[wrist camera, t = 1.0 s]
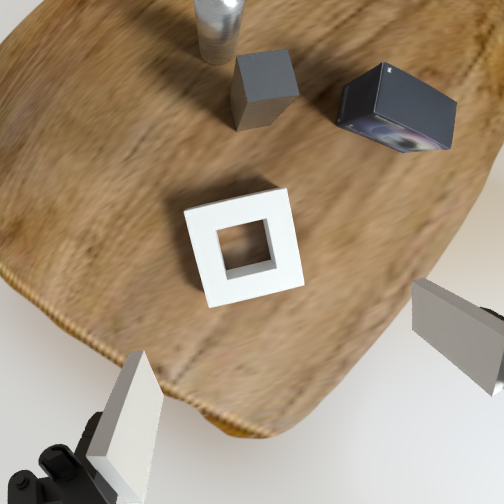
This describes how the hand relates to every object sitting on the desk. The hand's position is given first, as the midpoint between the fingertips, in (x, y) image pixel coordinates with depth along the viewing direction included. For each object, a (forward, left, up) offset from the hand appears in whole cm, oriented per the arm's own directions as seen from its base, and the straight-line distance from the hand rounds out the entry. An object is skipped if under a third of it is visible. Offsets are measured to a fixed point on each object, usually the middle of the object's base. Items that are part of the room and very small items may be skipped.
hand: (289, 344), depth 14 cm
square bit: (-15, +4, -25) cm, 29 cm away
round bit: (-24, +2, -25) cm, 34 cm away
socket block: (0, 0, -25) cm, 25 cm away
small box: (-12, +20, -25) cm, 34 cm away
